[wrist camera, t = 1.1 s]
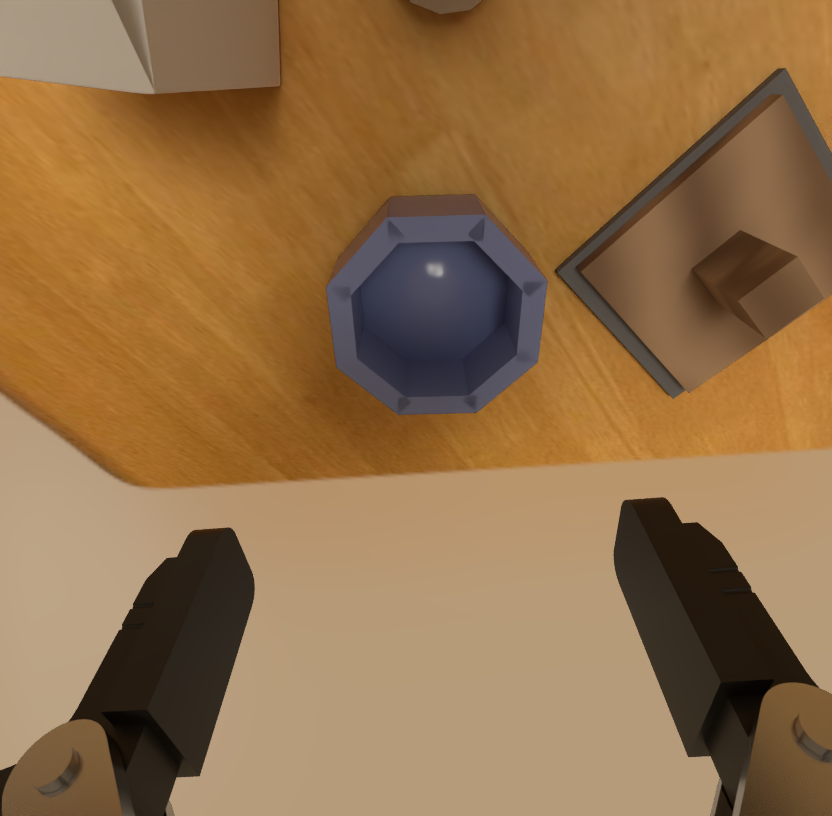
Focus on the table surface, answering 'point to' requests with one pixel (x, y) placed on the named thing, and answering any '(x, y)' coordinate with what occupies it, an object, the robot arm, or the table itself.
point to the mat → (568, 270)
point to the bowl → (435, 306)
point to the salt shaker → (446, 5)
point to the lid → (724, 248)
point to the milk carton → (142, 44)
